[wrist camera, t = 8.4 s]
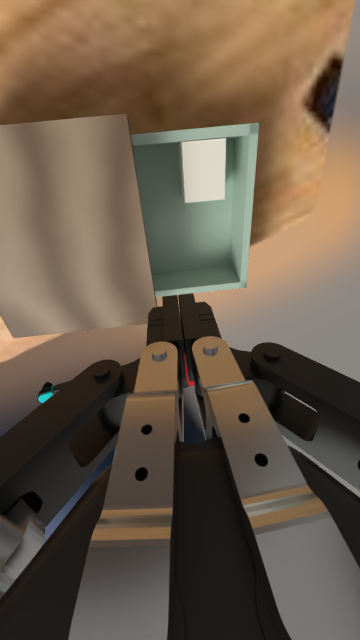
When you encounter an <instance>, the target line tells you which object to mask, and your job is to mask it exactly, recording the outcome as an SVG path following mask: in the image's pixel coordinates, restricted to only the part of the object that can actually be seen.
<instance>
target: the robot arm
mask: <svg viewBox="0 0 360 640" xmlns="http://www.w3.org/2000/svg"><path fill="white" fill-rule="evenodd" d="M178 297H179V306H178V298H177V295H171V296H163V306H162V307H153V308H152V309H151V311H150V312H149V313H148V328H147V346H146V347H145V349H144V350H143V351H142V353H141V357H140V358H139V359H138V360H136V361H134V362H132V363H129V364H127V365H124V366H120V364H119V363H118V362H116V361H114V360H102V361H99V362H96V363H94V364H92V365H90V366H89V367H88V368H87V369H85V370H84V371H83V372H82V373H80V374H79V375H78V376H76V377H75V378H74V379H73V380H71V381H70V382H69V383H68V384H66V385H65V386H64V387H63V388H61V389H60V390H59V391H58V392H56V393H55V394H54V395H53V396H51V397H50V398H49V399H47V400H46V401H45V402H44V403H42V404H41V405H40V406H39V407H37V408H36V409H35V410H34V411H32V412H31V413H30V414H29V415H28V416H26V417H25V418H24V419H22V420H21V421H20V422H18V423H17V424H16V425H15V426H13V427H12V428H11V429H10V430H8V431H7V432H6V433H5V434H3V435H2V436H1V437H0V640H360V498H359V497H358V496H357V495H356V494H354V493H353V492H351V491H350V490H349V489H348V488H346V487H345V486H344V485H342V484H341V483H340V482H339V481H337V480H336V479H335V478H333V477H332V476H331V475H329V474H328V473H327V472H326V471H324V470H323V469H322V468H320V467H319V466H318V465H317V464H315V463H314V462H313V461H311V460H310V459H309V458H307V457H306V456H305V455H303V454H302V453H300V452H299V451H297V450H296V449H294V448H292V447H290V446H288V445H287V444H286V443H285V441H284V438H283V437H282V435H283V436H285V437H286V438H287V439H288V440H290V441H291V442H293V443H294V444H295V445H297V446H298V447H300V448H301V449H302V450H304V451H305V452H306V453H308V454H309V455H311V456H312V457H313V458H315V459H316V460H318V461H319V462H320V463H322V464H323V465H325V466H326V467H327V468H329V469H331V470H332V471H333V472H334V473H336V474H337V475H339V476H340V477H342V478H343V479H344V480H346V481H347V482H348V483H350V484H351V485H353V486H354V487H356V488H357V489H358V490H360V382H358V381H356V380H354V379H351V378H349V377H347V376H345V375H343V374H341V373H339V372H337V371H335V370H333V369H330V368H328V367H326V366H324V365H322V364H320V363H317V362H316V361H313V360H311V359H309V358H307V357H305V356H303V355H301V354H298V353H296V352H294V351H292V350H290V349H288V348H286V347H284V346H282V345H279V344H276V343H269V342H268V343H261V344H258V345H256V346H255V347H254V348H253V349H252V352H248V351H240V350H236V349H233V348H230V347H229V346H228V344H227V343H226V342H225V341H224V340H223V339H222V338H221V335H220V332H219V329H218V326H217V323H216V321H215V318H214V315H213V312H212V309H211V307H210V306H209V305H208V304H207V303H206V302H199V303H195V299H194V295H193V293H189V294H180V295H178ZM179 308H180V313H179ZM180 318H181V320H180ZM184 351H185V354H184ZM185 358H186V364H185ZM186 365H187V373H188V380H189V382H191V381H194V386H195V396H196V401H197V405H198V409H199V413H200V418H201V421H202V426H203V429H204V434H205V438H206V441H204V442H201V443H197V444H195V443H186V442H184V441H183V396H182V395H183V391H184V390H183V382H187V375H186ZM285 391H286V392H287V393H289V394H291V395H293V396H294V397H296V398H297V399H299V400H301V401H302V402H304V403H306V404H308V405H309V406H311V407H312V408H314V409H315V410H316V411H317V412H316V411H314V410H312V409H311V408H309V407H307V406H306V405H304V404H302V403H301V402H299V401H297V400H296V399H294V398H292V397H291V396H289V395H287V394H286V393H285ZM88 420H89V421H88ZM87 421H88V422H87ZM86 422H87V423H86ZM85 423H86V424H85ZM84 424H85V425H84ZM83 425H84V426H83ZM82 426H83V427H82ZM115 446H116V450H115V454H114V459H113V463H112V464H111V465H110V466H109V467H108V468H106V469H105V470H104V471H103V472H102V473H101V474H100V475H99V476H98V477H97V478H96V479H95V481H94V482H93V483H92V484H91V485H90V487H89V488H88V489H87V490H86V492H85V493H84V494H83V496H82V497H81V498H80V499H79V501H78V502H77V503H76V504H75V506H74V507H73V508H72V509H71V511H70V512H69V513H68V515H67V516H66V517H65V518H64V519H63V521H62V522H61V523H60V524H59V526H58V527H57V528H56V530H55V531H54V532H53V533H52V535H51V536H50V537H49V538H48V540H47V541H46V542H45V543H44V539H45V530H46V529H45V527H46V526H47V525H48V524H49V523H50V521H51V520H52V519H53V518H54V517H55V516H56V515H57V514H58V512H59V511H60V510H61V509H62V508H63V507H64V505H65V504H66V503H67V502H68V501H69V499H70V498H71V497H72V496H73V495H74V494H75V493H76V491H77V490H78V489H79V488H80V486H82V485H83V483H84V482H85V481H86V480H87V479H88V478H89V476H90V475H91V474H92V473H93V472H94V470H95V469H96V468H97V467H98V466H99V465H100V464H101V462H102V461H103V460H104V459H105V458H106V456H107V455H108V454H109V453H110V452H111V451H112V450H113V449H114V447H115ZM43 543H44V545H43Z"/></svg>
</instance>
